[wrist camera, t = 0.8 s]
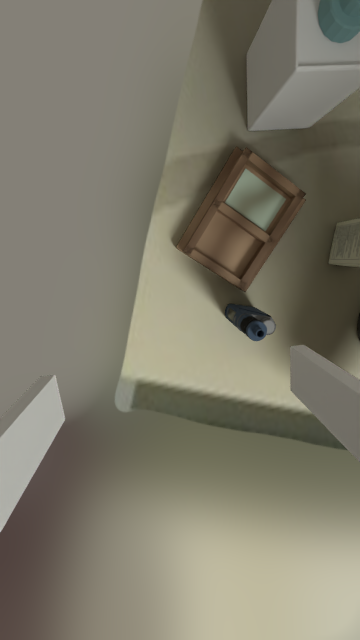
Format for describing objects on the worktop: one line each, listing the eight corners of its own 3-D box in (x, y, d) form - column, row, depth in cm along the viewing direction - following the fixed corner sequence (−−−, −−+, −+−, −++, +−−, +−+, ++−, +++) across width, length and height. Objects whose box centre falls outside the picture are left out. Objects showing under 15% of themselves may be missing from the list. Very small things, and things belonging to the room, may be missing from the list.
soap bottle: (246, 133, 37) (342, 13, 18) (245, 53, 34) (352, -174, 16) (308, 130, 37) (461, 11, 19) (311, 52, 35) (486, -169, 17)
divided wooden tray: (301, 201, 39) (311, 198, 37) (242, 290, 42) (248, 293, 39) (233, 149, 37) (239, 142, 34) (175, 247, 39) (177, 247, 37)
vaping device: (224, 301, 42) (252, 321, 30) (257, 306, 43) (296, 327, 31) (221, 318, 42) (247, 343, 31) (253, 322, 43) (290, 348, 32)
